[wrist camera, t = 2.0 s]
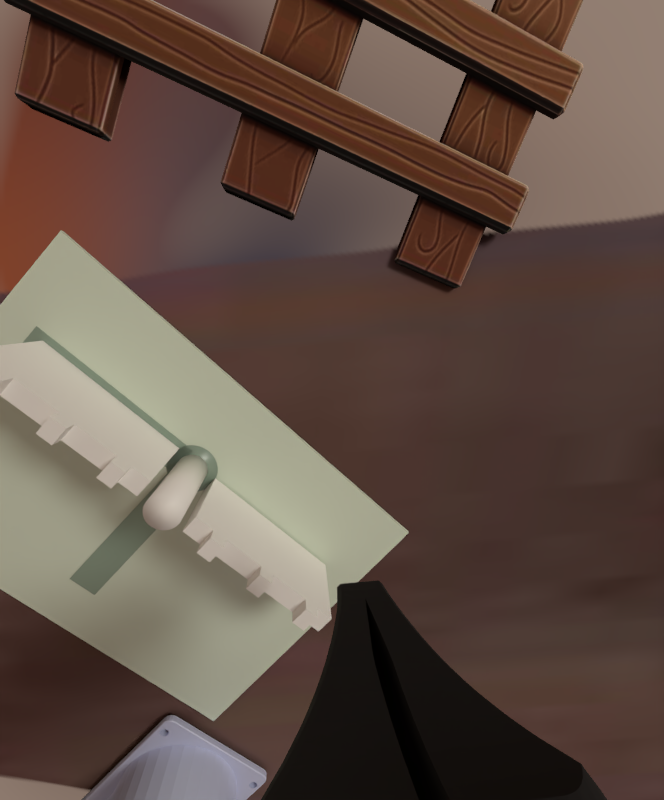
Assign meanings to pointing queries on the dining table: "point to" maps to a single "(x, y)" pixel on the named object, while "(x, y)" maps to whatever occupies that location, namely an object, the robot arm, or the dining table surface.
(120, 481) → the fence post and fixed panel
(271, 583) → the folding fence panel
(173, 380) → the card
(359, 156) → the decorative fence
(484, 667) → the dining table surface
